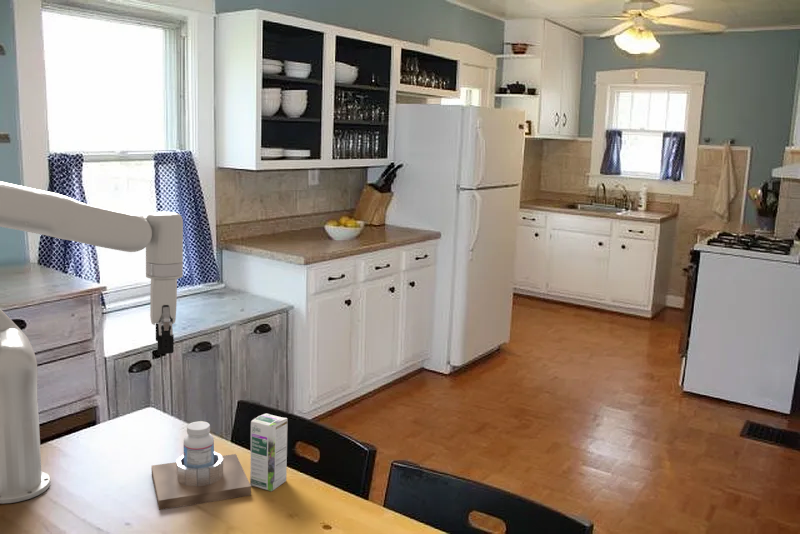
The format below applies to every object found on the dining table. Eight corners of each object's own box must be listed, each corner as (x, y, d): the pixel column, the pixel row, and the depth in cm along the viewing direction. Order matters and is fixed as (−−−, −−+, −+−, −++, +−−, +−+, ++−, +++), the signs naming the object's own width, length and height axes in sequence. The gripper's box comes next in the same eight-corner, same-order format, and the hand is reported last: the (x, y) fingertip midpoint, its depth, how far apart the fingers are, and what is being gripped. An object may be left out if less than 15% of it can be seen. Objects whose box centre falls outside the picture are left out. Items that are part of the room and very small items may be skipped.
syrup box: (249, 485, 153) (249, 420, 150) (265, 474, 158) (266, 411, 155) (271, 492, 150) (272, 426, 148) (287, 480, 155) (288, 416, 153)
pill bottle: (191, 468, 155) (190, 418, 153) (218, 470, 154) (218, 421, 152) (179, 481, 149) (178, 429, 147) (207, 484, 148) (206, 432, 146)
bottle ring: (180, 489, 146) (179, 472, 145) (174, 469, 154) (174, 454, 154) (226, 482, 150) (226, 466, 149) (218, 463, 158) (218, 448, 157)
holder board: (158, 510, 142) (158, 500, 141) (151, 474, 156) (151, 465, 156) (250, 495, 149) (250, 486, 148) (235, 462, 163) (235, 454, 163)
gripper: (144, 263, 162) (145, 337, 165) (147, 277, 146) (147, 359, 149) (179, 262, 165) (179, 335, 168) (185, 277, 149) (185, 357, 152)
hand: (164, 346), depth 158 cm, fingers open, 9 cm apart
